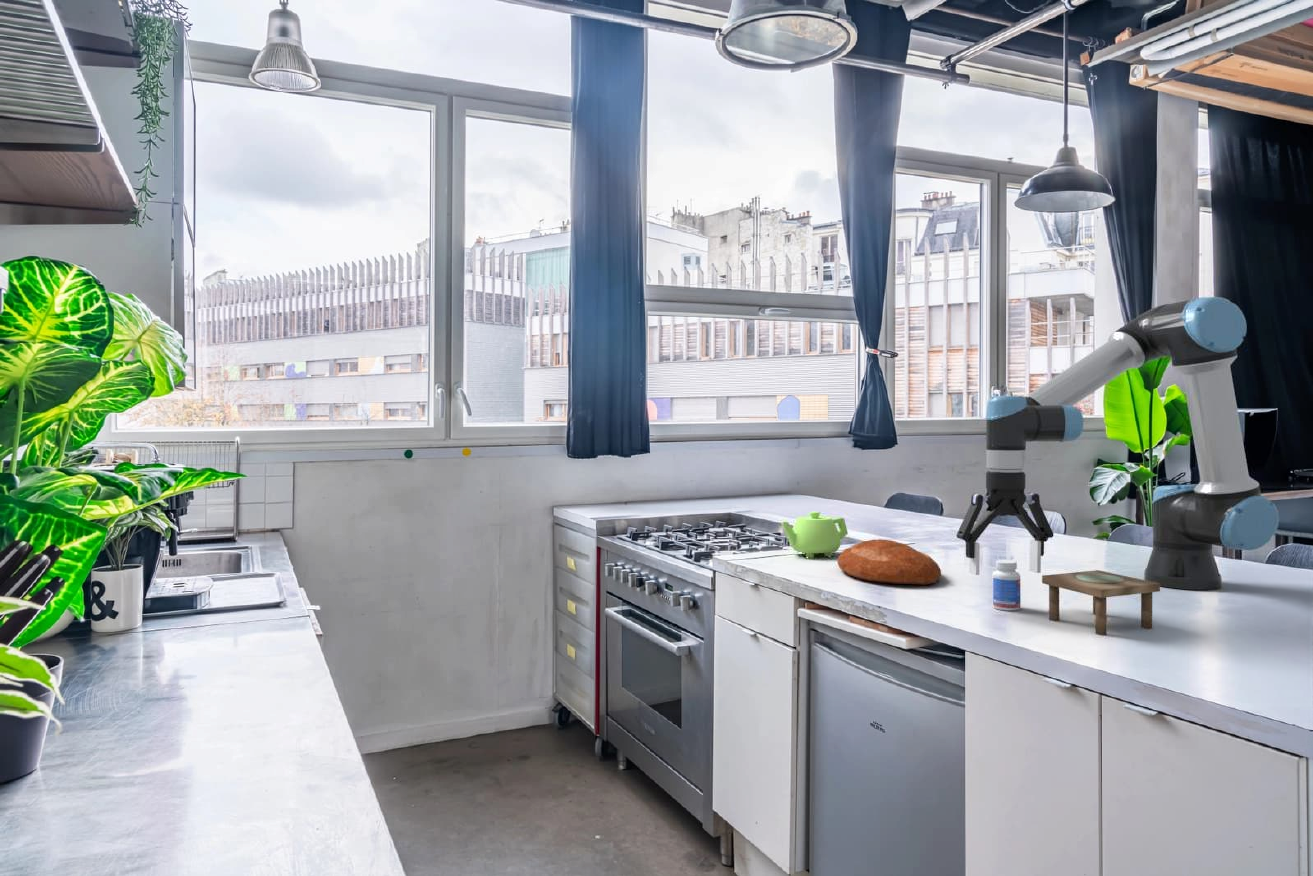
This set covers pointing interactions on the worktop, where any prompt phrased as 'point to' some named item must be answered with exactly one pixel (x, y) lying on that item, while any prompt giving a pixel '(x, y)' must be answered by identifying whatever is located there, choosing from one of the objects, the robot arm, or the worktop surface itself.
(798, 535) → the teapot
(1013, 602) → the pill bottle
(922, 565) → the bread
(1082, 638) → the worktop surface
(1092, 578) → the small wooden table
